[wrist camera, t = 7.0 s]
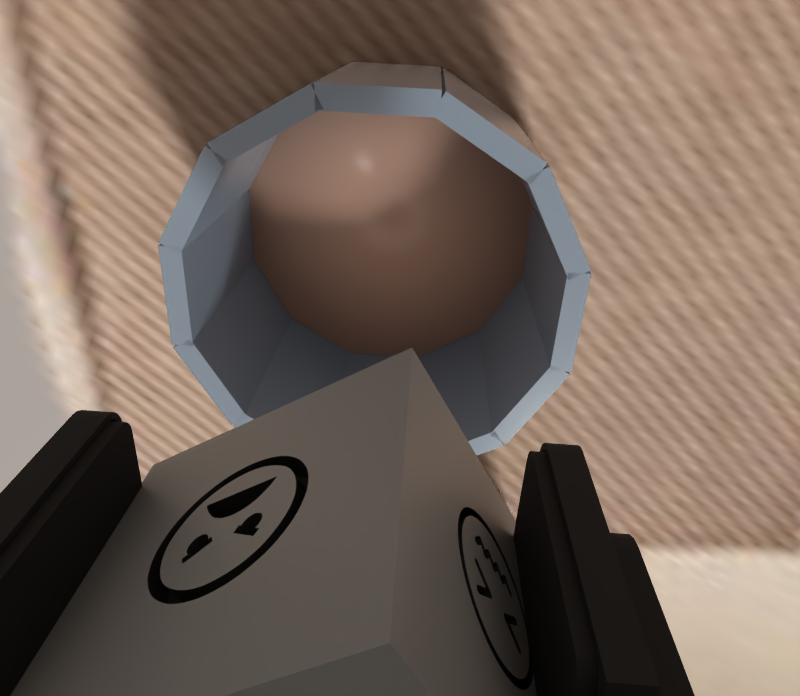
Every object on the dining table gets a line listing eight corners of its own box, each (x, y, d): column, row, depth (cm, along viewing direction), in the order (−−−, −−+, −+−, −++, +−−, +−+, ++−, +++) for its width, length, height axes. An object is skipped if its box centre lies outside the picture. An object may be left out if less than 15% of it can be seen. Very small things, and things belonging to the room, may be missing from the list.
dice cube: (153, 465, 11) (-48, 781, 6) (412, 347, 9) (389, 642, 5) (309, 642, 13) (241, 979, 8) (542, 565, 11) (609, 917, 7)
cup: (230, 54, 21) (133, 71, 14) (566, 73, 21) (627, 100, 14) (251, 349, 26) (188, 462, 20) (519, 367, 26) (547, 488, 19)
